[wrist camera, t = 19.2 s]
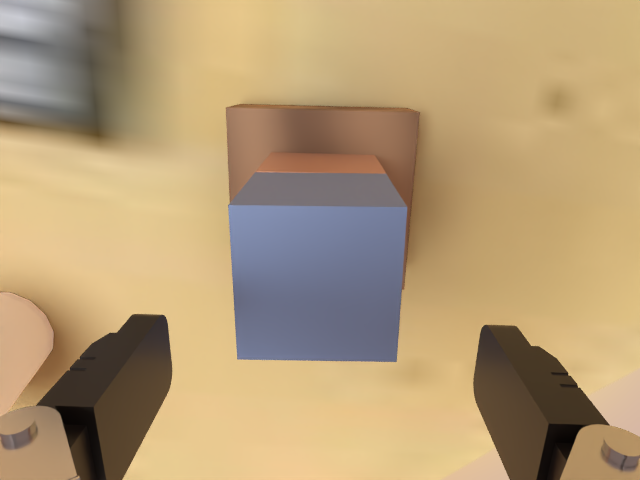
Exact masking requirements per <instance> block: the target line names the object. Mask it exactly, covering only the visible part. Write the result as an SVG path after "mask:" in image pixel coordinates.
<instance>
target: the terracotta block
mask: <svg viewBox="0 0 640 480" xmlns="http://www.w3.org/2000/svg"><path fill="white" fill-rule="evenodd" d="M256 172H277V173H377V174H386V172H385V170H384V169H383V167H382V166H381V164H380V163H379V161H378V159H377V158H376V156H375V155H361V154H321V153H282V152H271V153H270V154H269V156H268V157H267V158H266V159H265V160H264V162H263V163H262V164H261V165H260V167H259V168H258V169H257V170H256Z"/></svg>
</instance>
